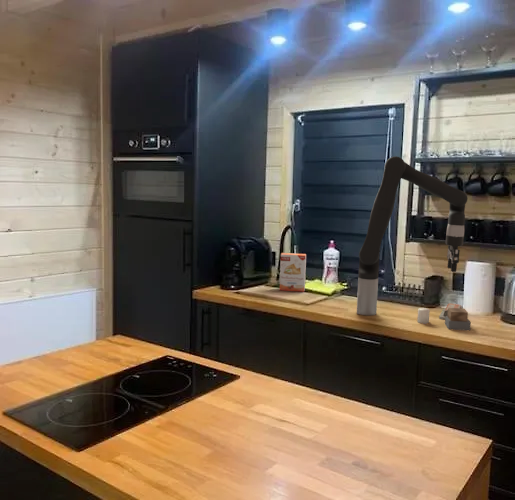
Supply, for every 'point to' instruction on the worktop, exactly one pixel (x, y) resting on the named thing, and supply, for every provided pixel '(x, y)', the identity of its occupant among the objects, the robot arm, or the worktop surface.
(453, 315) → the walnut block
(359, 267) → the robot arm
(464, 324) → the charcoal base block
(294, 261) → the cracker box
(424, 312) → the cream cylinder
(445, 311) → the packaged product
